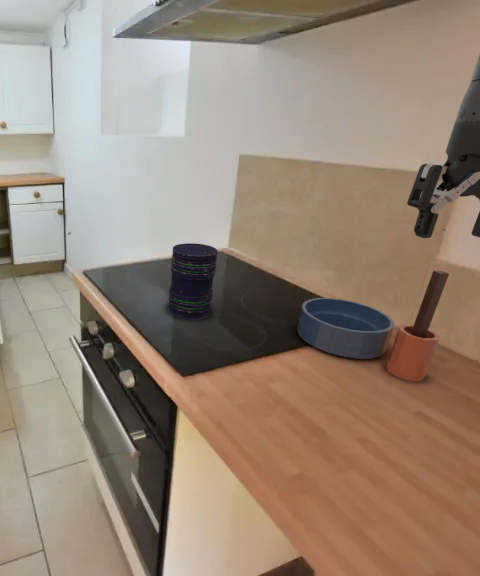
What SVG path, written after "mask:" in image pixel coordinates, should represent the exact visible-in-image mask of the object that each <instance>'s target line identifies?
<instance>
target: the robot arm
mask: <svg viewBox="0 0 480 576" xmlns="http://www.w3.org/2000/svg"><path fill="white" fill-rule="evenodd" d="M477 57H478V58H477V60H476V64H475V67H474V70H473V71H472V76H471V79H470V82H469V85H468V88H467V90H466V91H465V94H464V95H463V98H462V100H461V101H460V102H461V103H460V105H459V108H458V112H457V114H456V118H455V121H454V123H453V127H452V130H451V133H450V136H449V139H448V143H447V145H446V148H445V153H446V156H447V158H446V161H445V162H444V164H443V165H441V164H432V163H423V164H421V165H420V166H419V169H418V172H417V174H416V177H415V180H414V182H413V185H412V188H411V191H410V193H409V196H408V199H407V205H408V206H410V207H413V208H415V209H417V210H418V215H417V218H416V221H415V224H414V227H413V232H414V235H415V236H416V237H418V238H421V239H430V238H432V236H433V233H434V230H435V227H436V225H437V221H438V219H439V215H440V213H438V212H440V211H441V210H442V209H443V208H444V207H445V206H447V204H448V203H451V202H453V201H455V200H456V199H457V198H459V197H463V198H464V197H470V196H471V197H473V196H474V197H475V198H476V199H478V200H479V201H480V53H479V55H478V56H477ZM439 180H440V181H439ZM471 235H472V236H473V237H476V238H480V210H479V211H478V214H477V217H476V219H475V222H474V225H473V228H472V230H471Z"/></svg>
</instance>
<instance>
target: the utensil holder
mask: <svg viewBox="0 0 480 576" xmlns="http://www.w3.org/2000/svg"><path fill="white" fill-rule="evenodd" d="M413 326H414V324H402V325H400V326H399V327H398V329H397V332H396V335H395V337H394V338H395V339H394V341H393V344H392V347H391V350H390V353H389V356H388V358H387V362H386V367H385V368H386V370H387V371H388V372H389V373H390V374H391V375H392V376H394V377H397V378H399V379H401V380H405V381H409V382H421V381H423V380H424V378H425V377H426V376H427V372H428V370H429V367H430V365H431V362H432V360H433V357H434V356H435V352H436V350H437V347H438V344H439V342H440V339H441V337H440V335H439V334H438V333H437V332H435V331H433V330H431V329H428V332H427V334H426V337H425V338H421V337H417V336H414V335H411V332H412V329H413Z"/></svg>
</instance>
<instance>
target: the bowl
mask: <svg viewBox="0 0 480 576" xmlns="http://www.w3.org/2000/svg"><path fill="white" fill-rule="evenodd" d="M394 328H395V321H394V320H393V319H392V318H391V317H390V316H389V315H387V314H386V313H385V312H383V311H382V310H379V309H377V308H374V307H372V306H369V305H367V304H364V303H360V302H357V301H354V300H353V301H352V300H348V299H343V298H333V297H316V298H311V299H308V300H305V301H304V302H303V303H302V304H301V307H300V313H299V317H298V321H297V325H296V332H297V334H298V336H299V337H300V338H301V339H302V341H304V342H306V343H307V344H309V345H311V346H312V347H314V348H316V349H319V350H321V351H323V352H325V353H328V354H332V355H336V356H340V357H344V358H351V359H357V360H360V359H365V360H366V359H367V360H368V359H375V358H379V357H382V356H383V355H384V354H385V353H386V352H387V349H388V346H389V343H390V340H391V337H392V335H393V331H394Z"/></svg>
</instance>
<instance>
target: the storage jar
mask: <svg viewBox="0 0 480 576" xmlns="http://www.w3.org/2000/svg"><path fill="white" fill-rule="evenodd" d="M218 252H219V251H218V249H217V247H214V246H212V245H208V244H204V243H191V242H189V243H188V242H185V243H179V244H176V245H174V246H173V247H172V254H171V262H170V264H171V266H170V272H171V279H170V280H171V282H170V286H169V287H168V297H167V298H168V299H167V300H168V307H167V308H168V309H167V310H168V312H169V313H170V315H173V316H174V317H176V318H179V319H183V320H191V321H192V320H193V321H194V320H195V321H197V320H202V319H203V320H204V319H205V318H208V317H209V316H210V314H211V307H212V304H213V296H214V291H213V283H214V277H215V275H216V271H217V270H216V269H217V264H218V263H217V259H218V257H217V256H218Z"/></svg>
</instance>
